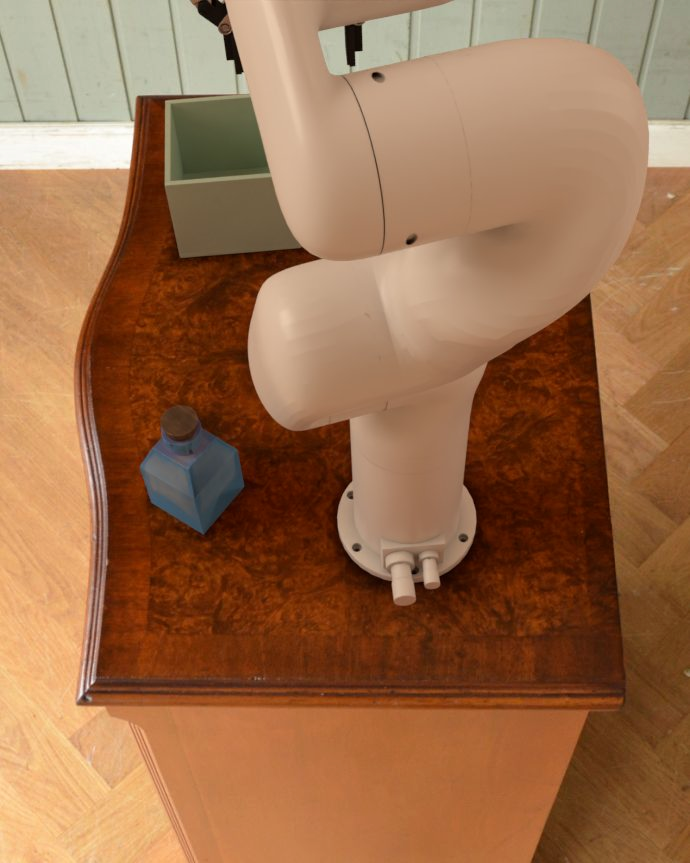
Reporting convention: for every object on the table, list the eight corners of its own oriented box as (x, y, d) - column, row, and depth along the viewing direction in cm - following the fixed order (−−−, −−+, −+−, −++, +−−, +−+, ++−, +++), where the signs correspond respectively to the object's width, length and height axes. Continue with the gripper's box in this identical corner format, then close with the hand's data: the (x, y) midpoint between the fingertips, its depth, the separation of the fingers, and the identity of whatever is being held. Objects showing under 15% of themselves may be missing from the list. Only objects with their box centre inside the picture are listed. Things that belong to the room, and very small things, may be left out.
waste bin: (301, 248, 125) (294, 174, 116) (180, 258, 125) (164, 185, 116) (294, 165, 132) (287, 90, 124) (179, 174, 132) (165, 100, 123)
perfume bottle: (244, 486, 108) (230, 411, 98) (203, 534, 105) (184, 462, 95) (192, 456, 110) (173, 380, 100) (151, 502, 107) (127, 429, 97)
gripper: (162, -98, 84) (195, 95, 98) (398, -114, 84) (398, 81, 98) (165, -151, 88) (196, 41, 102) (390, -166, 88) (390, 27, 102)
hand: (295, 60), depth 100 cm, fingers open, 9 cm apart
